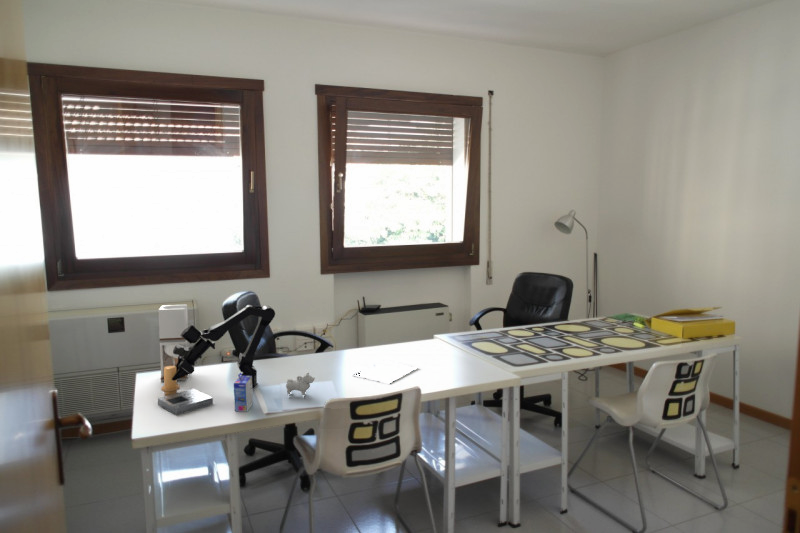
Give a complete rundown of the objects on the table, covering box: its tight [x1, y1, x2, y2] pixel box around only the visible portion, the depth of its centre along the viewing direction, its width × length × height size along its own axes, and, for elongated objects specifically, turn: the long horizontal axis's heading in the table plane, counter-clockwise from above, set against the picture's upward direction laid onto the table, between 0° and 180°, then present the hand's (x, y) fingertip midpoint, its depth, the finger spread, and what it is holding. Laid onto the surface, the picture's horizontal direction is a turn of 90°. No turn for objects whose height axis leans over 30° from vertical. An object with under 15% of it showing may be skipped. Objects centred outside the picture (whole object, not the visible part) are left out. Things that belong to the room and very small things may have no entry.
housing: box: [157, 388, 214, 416], centre depth 221 cm, size 16×16×3 cm
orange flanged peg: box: [160, 366, 181, 396], centre depth 230 cm, size 8×8×13 cm
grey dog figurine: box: [285, 372, 316, 396], centre depth 233 cm, size 5×13×11 cm, turn 89°
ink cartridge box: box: [233, 372, 254, 412], centre depth 219 cm, size 10×6×14 cm, turn 2°
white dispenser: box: [158, 304, 189, 383], centre depth 253 cm, size 11×11×35 cm
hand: (172, 376), depth 230 cm, fingers open, 9 cm apart
